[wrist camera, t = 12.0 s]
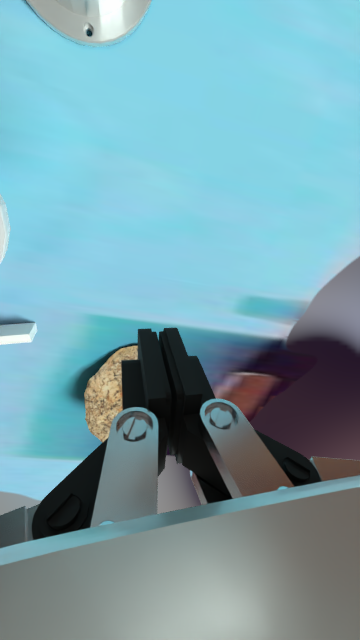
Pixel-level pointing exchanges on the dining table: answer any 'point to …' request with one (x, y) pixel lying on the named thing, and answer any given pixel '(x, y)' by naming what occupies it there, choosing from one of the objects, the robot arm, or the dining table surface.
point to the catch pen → (17, 333)
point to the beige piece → (106, 393)
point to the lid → (3, 229)
